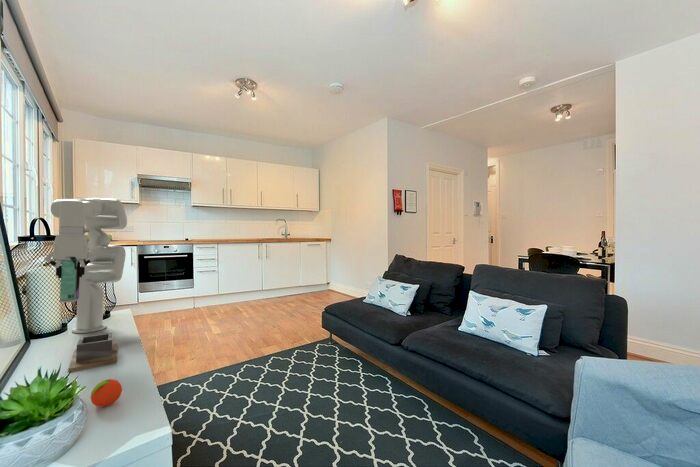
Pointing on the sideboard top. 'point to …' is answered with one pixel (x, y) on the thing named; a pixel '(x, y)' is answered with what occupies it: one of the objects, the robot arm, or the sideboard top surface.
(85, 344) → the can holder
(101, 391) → the tomato
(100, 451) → the sideboard top surface
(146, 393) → the sideboard top surface
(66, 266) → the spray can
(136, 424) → the sideboard top surface
